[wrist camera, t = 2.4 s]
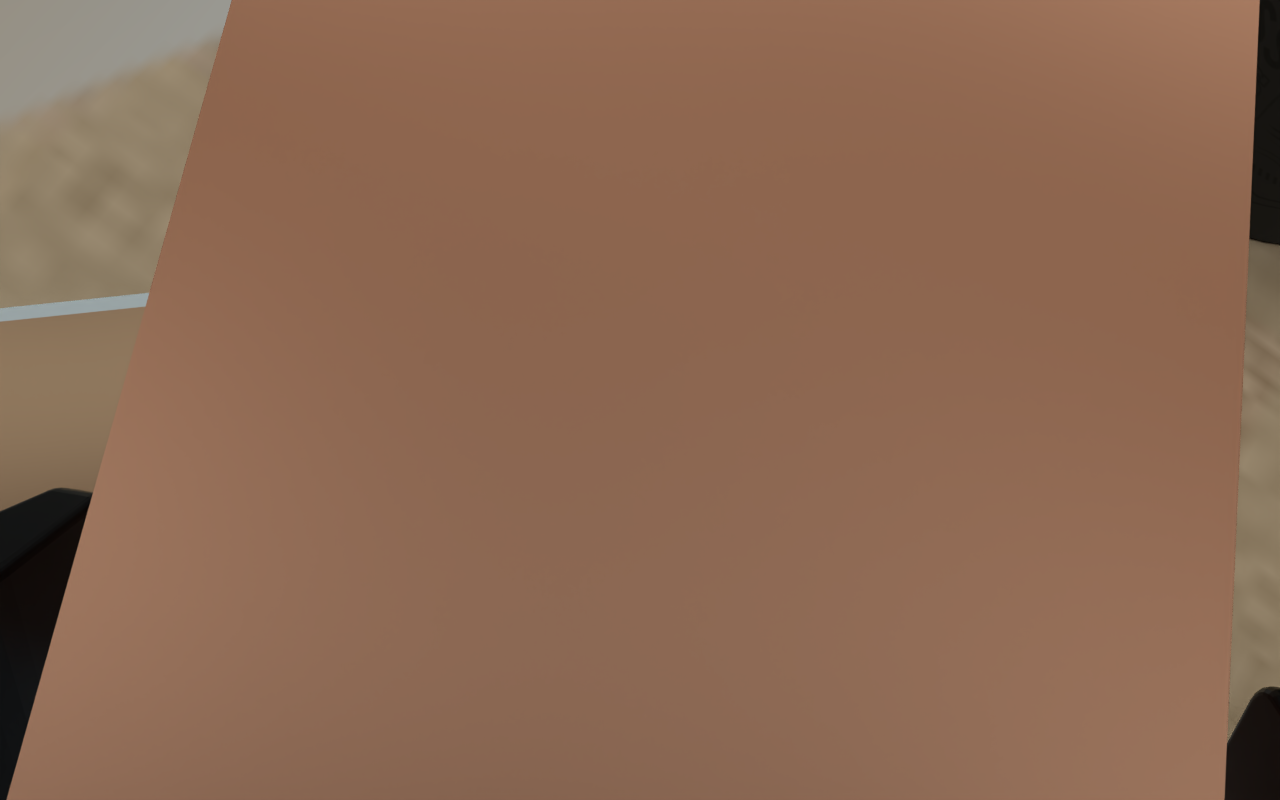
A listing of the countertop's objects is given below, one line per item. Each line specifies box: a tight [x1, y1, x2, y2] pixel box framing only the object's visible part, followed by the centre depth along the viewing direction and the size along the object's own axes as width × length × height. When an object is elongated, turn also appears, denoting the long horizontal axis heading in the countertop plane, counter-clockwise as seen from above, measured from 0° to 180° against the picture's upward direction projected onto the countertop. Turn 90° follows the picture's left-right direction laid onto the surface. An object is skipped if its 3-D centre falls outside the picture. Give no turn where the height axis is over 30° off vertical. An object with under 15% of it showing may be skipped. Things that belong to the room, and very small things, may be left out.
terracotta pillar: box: [7, 0, 1260, 800], centre depth 11 cm, size 4×4×12 cm
